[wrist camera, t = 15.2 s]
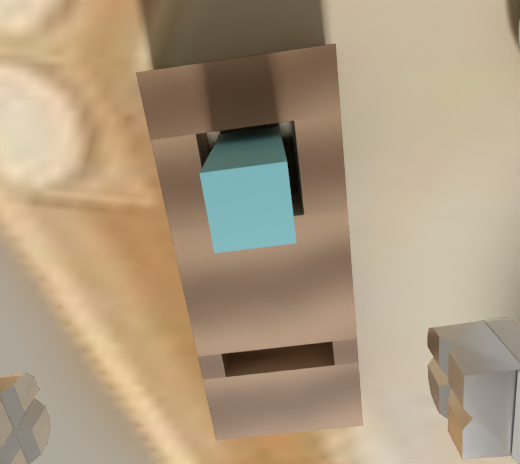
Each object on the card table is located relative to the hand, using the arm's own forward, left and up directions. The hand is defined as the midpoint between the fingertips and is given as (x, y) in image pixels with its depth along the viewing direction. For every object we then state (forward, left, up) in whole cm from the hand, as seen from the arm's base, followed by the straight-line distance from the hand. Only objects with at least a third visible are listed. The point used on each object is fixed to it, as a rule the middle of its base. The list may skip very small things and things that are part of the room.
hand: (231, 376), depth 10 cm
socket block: (-6, 0, -21) cm, 21 cm away
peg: (0, 0, -21) cm, 21 cm away
